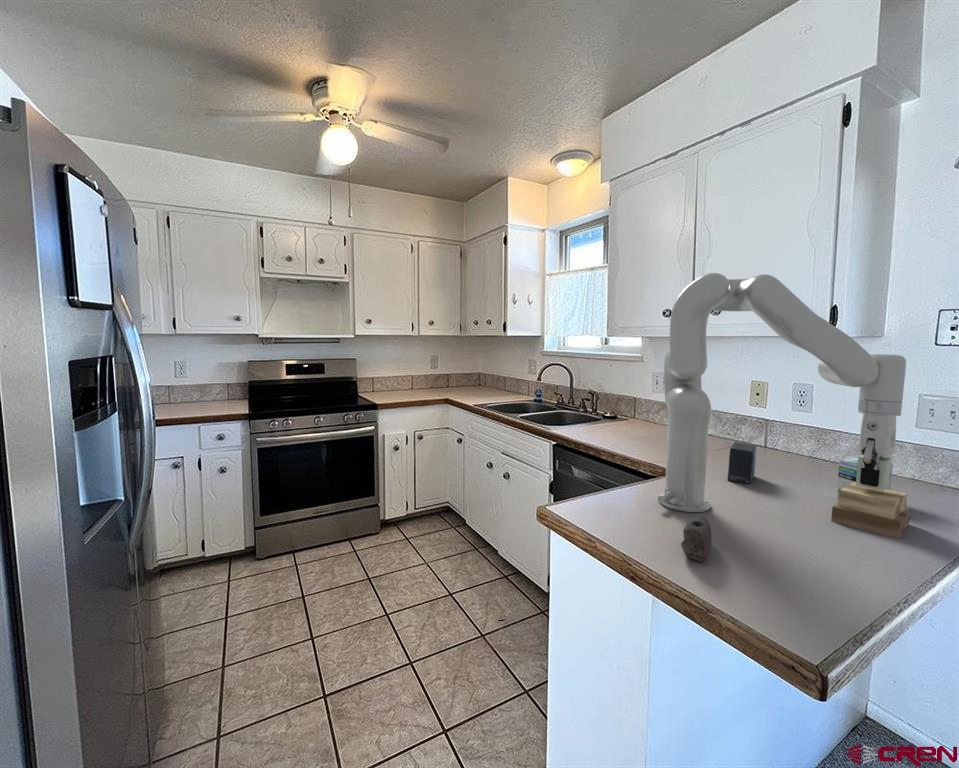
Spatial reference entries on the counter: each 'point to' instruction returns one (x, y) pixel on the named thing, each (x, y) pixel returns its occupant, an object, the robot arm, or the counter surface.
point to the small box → (742, 462)
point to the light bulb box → (851, 473)
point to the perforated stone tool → (697, 538)
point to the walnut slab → (871, 521)
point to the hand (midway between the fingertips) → (872, 482)
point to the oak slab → (873, 500)
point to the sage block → (883, 476)
